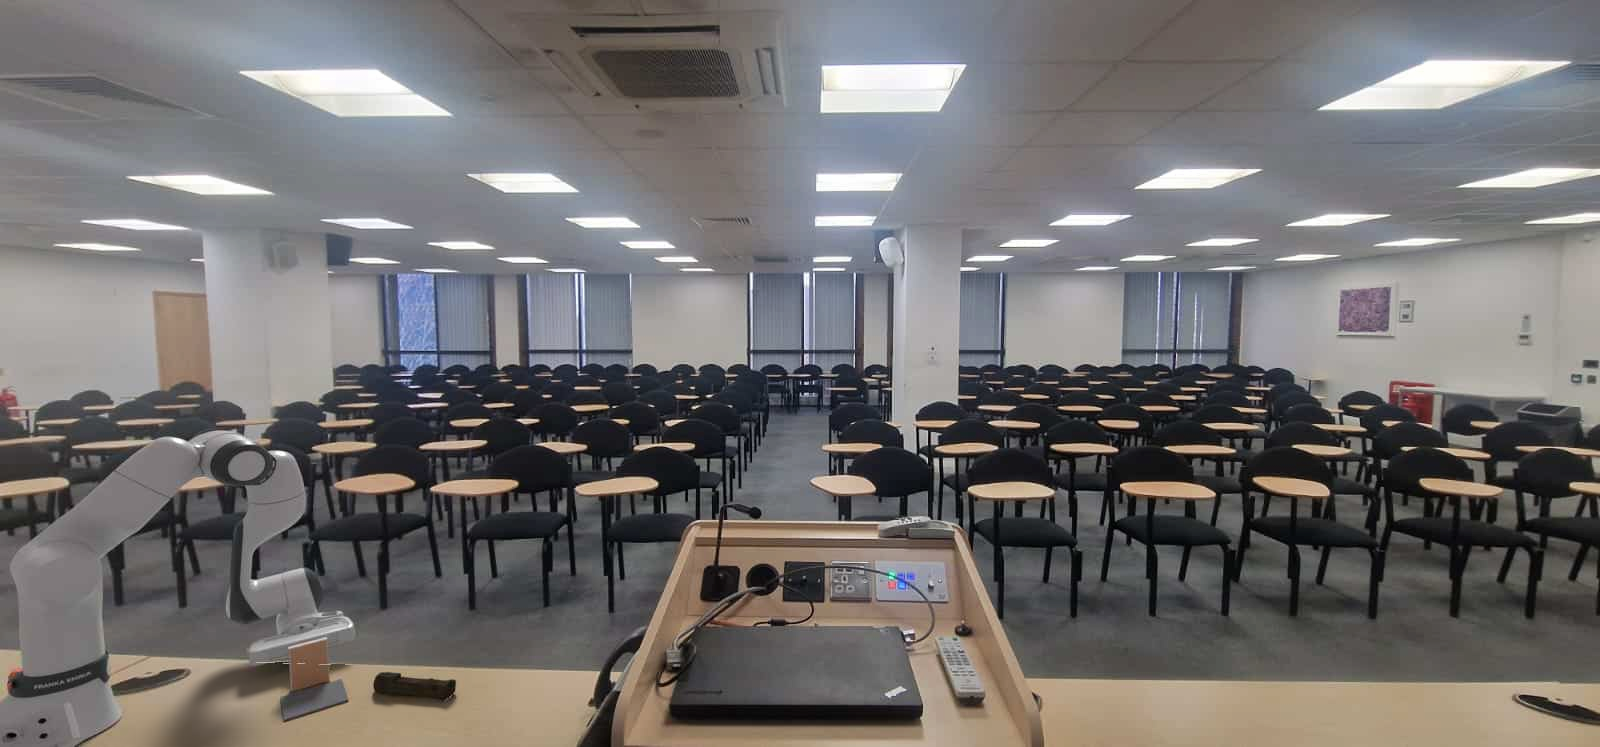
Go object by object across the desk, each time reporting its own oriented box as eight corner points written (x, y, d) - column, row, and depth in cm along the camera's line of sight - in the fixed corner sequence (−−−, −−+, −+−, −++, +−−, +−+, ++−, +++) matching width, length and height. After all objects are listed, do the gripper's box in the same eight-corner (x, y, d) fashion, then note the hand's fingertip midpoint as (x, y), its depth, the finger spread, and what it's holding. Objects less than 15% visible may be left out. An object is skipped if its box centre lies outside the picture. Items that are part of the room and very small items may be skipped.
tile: (291, 692, 146) (288, 649, 145) (291, 689, 147) (288, 646, 146) (330, 681, 150) (327, 639, 150) (329, 678, 152) (326, 636, 151)
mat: (284, 721, 135) (284, 719, 135) (280, 698, 143) (280, 697, 143) (348, 701, 142) (348, 699, 142) (341, 680, 151) (341, 678, 151)
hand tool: (458, 693, 146) (457, 673, 145) (445, 703, 142) (444, 683, 141) (384, 685, 149) (383, 666, 149) (369, 695, 145) (368, 675, 145)
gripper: (245, 633, 155) (247, 655, 145) (349, 608, 169) (357, 627, 159) (247, 659, 156) (249, 683, 145) (350, 632, 169) (359, 652, 159)
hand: (306, 653), depth 152 cm, fingers closed
